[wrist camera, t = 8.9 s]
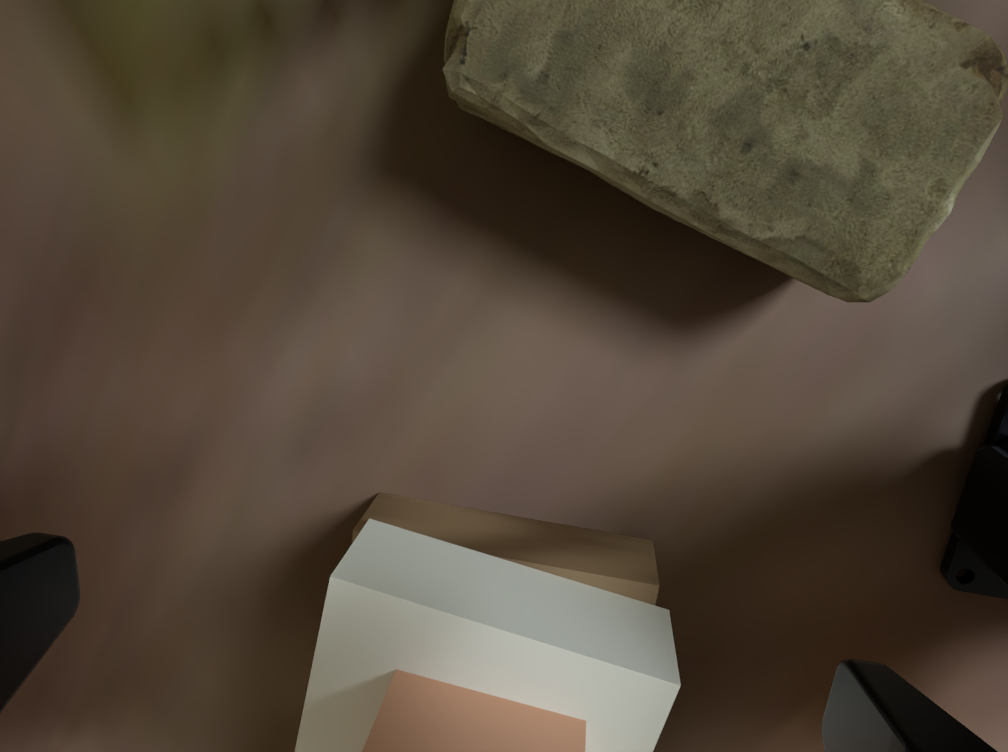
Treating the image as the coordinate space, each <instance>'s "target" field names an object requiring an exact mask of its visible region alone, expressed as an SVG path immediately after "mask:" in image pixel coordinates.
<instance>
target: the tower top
mask: <svg viewBox="0 0 1008 752" xmlns="http://www.w3.org/2000/svg"><path fill="white" fill-rule="evenodd" d="M396 669H397V670H401V671H404V672H408V673H412V674H416V675H419V676H423V677H427V678H430V679H434V680H438V681H441V682H445V683H449V684H452V685H456V686H460V687H463V688H467V689H471V690H475V691H478V692H482V693H486V694H489V695H493V696H497V697H500V698H504V699H508V700H511V701H515V702H519V703H522V704H526V705H530V706H534V707H537V708H541V709H545V710H548V711H552V712H556V713H559V714H563V715H567V716H570V717H574V718H578V719H581V720H585V721H586V745H585V752H653V750H654V748H655V746H656V743H657V741H658V738H659V736H660V734H661V731H662V729H663V727H664V724H665V722H666V720H667V717H668V715H669V712H670V710H671V708H672V705H673V703H674V701H675V698H676V696H677V694H678V691H679V689H680V686H681V683H680V677H679V670H678V664H677V657H676V651H675V644H674V638H673V632H672V625H671V619H670V612H669V610H668V609H665V608H661V607H658V606H655V605H652V604H648V603H645V602H642V601H639V600H635V599H632V598H629V597H625V596H622V595H619V594H616V593H612V592H609V591H606V590H602V589H599V588H596V587H593V586H589V585H586V584H583V583H579V582H576V581H573V580H570V579H566V578H563V577H560V576H557V575H553V574H550V573H547V572H543V571H540V570H537V569H534V568H530V567H527V566H524V565H520V564H517V563H514V562H511V561H507V560H504V559H501V558H498V557H494V556H491V555H488V554H484V553H481V552H478V551H475V550H471V549H468V548H465V547H461V546H458V545H455V544H452V543H448V542H445V541H442V540H438V539H435V538H432V537H429V536H425V535H422V534H419V533H416V532H412V531H409V530H406V529H402V528H399V527H396V526H393V525H389V524H386V523H383V522H379V521H376V520H373V519H370V518H369V520H368V521H367V523H366V524H365V526H364V527H363V529H362V530H361V532H360V533H359V534H358V536H357V537H356V539H355V540H354V542H353V543H352V545H351V546H350V548H349V549H348V551H347V552H346V554H345V555H344V557H343V558H342V560H341V561H340V563H339V564H338V566H337V567H336V568H335V570H334V571H333V573H332V574H331V576H330V579H329V584H328V589H327V594H326V599H325V604H324V609H323V614H322V619H321V624H320V629H319V634H318V639H317V644H316V649H315V653H314V658H313V663H312V668H311V673H310V678H309V683H308V688H307V693H306V698H305V703H304V708H303V713H302V718H301V723H300V728H299V732H298V737H297V742H296V747H295V752H362V750H363V748H364V746H365V743H366V741H367V738H368V736H369V734H370V731H371V729H372V726H373V724H374V721H375V719H376V717H377V714H378V712H379V709H380V707H381V705H382V702H383V700H384V697H385V695H386V693H387V690H388V688H389V685H390V683H391V681H392V678H393V676H394V673H395V671H396Z"/></svg>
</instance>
